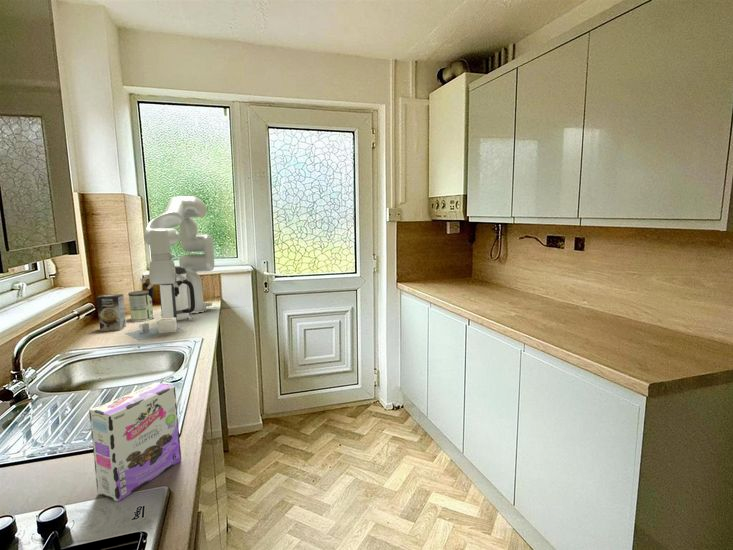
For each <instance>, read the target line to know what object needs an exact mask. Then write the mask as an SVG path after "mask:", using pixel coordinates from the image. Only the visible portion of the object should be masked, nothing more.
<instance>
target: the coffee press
mask: <svg viewBox="0 0 733 550" xmlns="http://www.w3.org/2000/svg"><path fill="white" fill-rule="evenodd" d="M175 271H176V273H177V274H179V275H182V276H184V277H185V279H184V281H183V283H182V284H181V285H180V286H179V294H178V296H177V297H176V296H175V286H174V285H173V284H172V283H171V284H158V287H159V297H160V298H159V299H160V309H161V310H160V311H161V318H160V319H162V318H174V317H176V320H177V321H182V320H186V319H187V320H190V318H189V316H190V317H191V319H193V316H192V314H190V312H193V311H194V309H195V296H194V288H193V285H192V283H191V282H190V281H187V278H186V273H187V271H186V270H185V268H183V267H180V265H178V266H177V265H175ZM180 280H181V279H180V278H178V277H176V282H177V283H179V282H180ZM187 285H188V286H189V289H190V300H191V308H190V309H189V306H188V304H189V299H188V293H187V291H188V287H187Z"/></svg>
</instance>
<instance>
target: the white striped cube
mask: <svg viewBox="0 0 733 550" xmlns="http://www.w3.org/2000/svg"><path fill="white" fill-rule="evenodd" d="M161 318H162V319H161ZM161 318H159V320H158V322H157V327H158V328H159V333H167V332H175V331H176V329H177V327H178V325H177V324H178V323H177V322H178V320H176V317H174V318H163V317H161Z"/></svg>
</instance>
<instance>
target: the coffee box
mask: <svg viewBox="0 0 733 550" xmlns="http://www.w3.org/2000/svg"><path fill="white" fill-rule="evenodd" d="M124 297H125V296H124V293H120V294H118V293H116V294H113V293H111V294H101V295H98V296H97V297H96V301H97V313H98V314H97V315H98V321H99V323H98V324H99V331H100V332H107V331H108V332H109V330H112V331H122V330H123V329H125V328H127V321H126V311H125V310H126V309H125V300H124ZM124 327H125V328H124ZM121 329H122V330H121Z"/></svg>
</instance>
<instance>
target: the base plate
mask: <svg viewBox="0 0 733 550" xmlns="http://www.w3.org/2000/svg"><path fill="white" fill-rule="evenodd" d="M184 331H186V330H185V329H182V328H180V327H178V326H177V329H176V331H175V332H167V333H159V328H158V326H155V327H151V328H150V327H149V332H148V333H144V334H141V333H140V332H139V330H135V331H130V332H126V333H125V335H127V336H128V337H130V338H133V339H135V340H137V341H142V340H143V341H144V340H147V339H151V338H157V337H161V336H165V335H171V334H175V333H179V332H184Z"/></svg>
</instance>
